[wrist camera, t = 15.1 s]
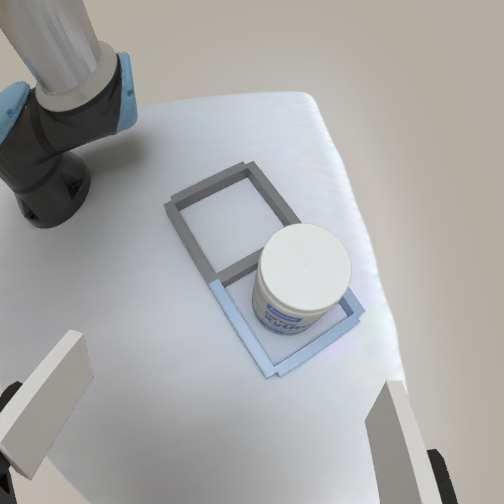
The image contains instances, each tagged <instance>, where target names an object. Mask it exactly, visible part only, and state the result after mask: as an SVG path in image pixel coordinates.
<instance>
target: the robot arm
mask: <svg viewBox="0 0 504 504" xmlns="http://www.w3.org/2000/svg"><path fill="white" fill-rule="evenodd" d="M0 28H1V30H2V31H3V33H4V34H5V36H6V37H7V39H8V40H9V42H10V43H11V44H12V46H13V47H14V49H15V50H16V52H17V53H18V54H19V56H20V57H21V59H22V60H23V62H24V63H25V64H26V66H27V67H28V69H29V70H30V71H31V73H32V74H33V76H34V77H35V78H36V80H37V84H36V87H35V88H33V89H30V86H29V84H27V83H26V82H23V81H21V82H16V83H14V84H12V85H10V86H9V87H7V88H6V89H4V90H3V91H2V92H1V93H0V178H1V179H2V180H3V181H4V182H5V183H6V184H7V185H8V186H9V187H10V188H11V189H12V190H13V192H14V193H15V196H16V199H17V201H18V204H19V206H20V209H21V211H22V214H23V215H24V217H25V218H26V219H27V220H28V221H29V222H30V223H31V224H33V225H34V226H36V227H39V228H50V227H53V226H56V225H58V224H60V223H62V222H64V221H65V220H67V219H68V218H69V217H71V216H72V215H73V214H74V213H75V212H76V211H77V209H78V208H79V207H80V206H81V204H82V203H83V201H84V199H85V197H86V195H87V193H88V190H89V186H90V174H89V171H88V169H87V167H86V166H85V164H84V163H83V161H82V160H81V159H80V158H79V157H78V156H76V155H75V154H73V153H72V152H70V151H69V150H71V149H74V148H76V147H79V146H81V145H84V144H87V143H89V142H92V141H95V140H98V139H101V138H104V137H107V136H110V135H115V134H117V133H118V132H120V131H122V130H125V129H128V128H130V127H132V126H133V125H134V124H135V123H136V121H137V106H136V99H135V93H134V86H133V77H132V71H131V64H130V58H129V55H128V54H127V53H125V52H124V53H115V51H114V50H113V48H112V47H111V46H110V45H108V44H107V43H104V42H102V41H97V38H96V35H95V33H94V31H93V28H92V25H91V22H90V20H89V17H88V14H87V11H86V9H85V6H84V3H83V1H82V0H0ZM93 378H94V376H93V373H92V369H91V365H90V360H89V356H88V352H87V347H86V343H85V338H84V333H80V332H77V331H74V330H71V329H70V330H69V331H68V332H67V333H66V334H65V335H64V337H63V338H62V339H61V340H60V341H59V342H58V343H57V344H56V346H55V347H54V348H53V349H52V350H51V351H50V352H49V354H48V355H47V356H46V357H45V358H44V359H43V361H42V362H41V363H40V364H39V365H38V367H37V368H36V369H35V370H34V371H33V373H32V374H31V375H30V376H29V377H28V379H27V380H26V381H25V382H24V384H22V383H20V382H18V381H17V382H15V383H13V384H12V385H10V386H8V387H7V388H6V390H5V391H4V392H3V393H2V395H1V397H0V504H17V502H16V498H15V493H14V489H13V485H12V479H11V474H10V472H9V467H10V465H11V466H12V467H13V468H14V469H15V471H16V472H18V473H19V474H21V475H22V476H24V477H26V478H28V479H29V480H32V478H33V476H34V475H35V473H36V471H37V469H38V468H39V466H40V464H41V462H42V460H43V459H44V457H45V455H46V454H47V452H48V450H49V449H50V447H51V445H52V443H53V442H54V440H55V438H56V437H57V435H58V433H59V432H60V430H61V429H62V427H63V425H64V424H65V422H66V420H67V419H68V417H69V416H70V414H71V412H72V411H73V409H74V408H75V406H76V404H77V403H78V401H79V400H80V398H81V396H82V395H83V393H84V392H85V390H86V389H87V387H88V386H89V384H90V383H91V381H92V379H93ZM365 424H366V429H367V434H368V439H369V444H370V448H371V454H372V459H373V464H374V469H375V475H376V480H377V486H378V492H379V498H380V504H458V503H457V499H456V495H455V492H454V489H453V486H452V482H451V479H449V477H450V476H449V473H448V471H447V467H446V465H445V461H444V458H443V457H442V456H441V454H440V453H439V452H438V451H437V450H436V449H432V450H426V448H425V445H424V442H423V439H422V436H421V433H420V430H419V427H418V424H417V421H416V419H415V416H414V413H413V410H412V407H411V405H410V402H409V399H408V397H407V394H406V391H405V389H404V386H403V384H402V381H386V382H385V384H384V386H383V388H382V390H381V392H380V394H379V396H378V397H377V399H376V401H375V403H374V405H373V407H372V409H371V410H370V412H369V414H368V416H367V418H366V419H365Z"/></svg>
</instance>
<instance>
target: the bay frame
mask: <svg viewBox="0 0 504 504" xmlns="http://www.w3.org/2000/svg"><path fill="white" fill-rule="evenodd" d="M246 177H248V178H249V179H250V181H251V182H252V183H253V185H254V186H255V187H256V189H257V190H258V191H259V193H260V194H261V195H262V197H263V198H264V199H265V201H266V202H267V203H268V205H269V206H270V207H271V209H272V210H273V211H274V213H275V214H276V215H277V217H278V218H279V219H280V221H281V222H282V223H283V225H284V226H285V227H286V226H289V225H293V224H299V223H301V221H300V220H299V219H298V217H297V216H296V215H295V213H294V212H293V211H292V209H291V208H290V207H289V205H288V204H287V203H286V202H285V200H284V199H283V198H282V196H281V195H280V194H279V193H278V191H277V190H276V189H275V188H274V186H273V185H272V184H271V182H270V181H269V180H268V179H267V177H266V176H265V175H264V174H263V172H262V171H261V170H260V169H259V167H258V166H257V165H256V164H255V162H254V161H252V162H250V163H248V164H246V165H245V163H244V162H241V163H239V164H236V165H234V166H232V167H230V168H228V169H226V170H224V171H221V172H219V173H217V174H215V175H213V176H211V177H209V178H207V179H205V180H203V181H201V182H199V183H197V184H195V185H192V186H190V187H188V188H186V189H184V190H182V191H181V192H179V193H177V194H175V195H173V196H171V200H172V201H170V202H168V203H166V204H164V207H165V209H166V212H167V214H168V216H169V218H170V220H171V221H172V223H173V225H174V227H175V229H176V230H177V232H178V234H179V236H180V237H181V239H182V241H183V243H184V245H185V246H186V248H187V250H188V252H189V253H190V255H191V257H192V259H193V260H194V262H195V264H196V266H197V267H198V269H199V271H200V272H201V274H202V276H203V278H204V279H205V281H206V283H207V284H208V286H209V288H210V289H211V291H212V293H213V294H214V296H215V298H216V299H217V301H218V303H219V304H220V306H221V308H222V309H223V311H224V313H225V314H226V316H227V318H228V319H229V321H230V322H231V324H232V326H233V327H234V329H235V331H236V332H237V334H238V335H239V337H240V339H241V340H242V342H243V343H244V345H245V347H246V348H247V350H248V351H249V353H250V354H251V356H252V358H253V359H254V361H255V362H256V364H257V365H258V367H259V369H260V370H261V372H262V373H263V375H264V376H265V378H268V377H270V376H271V375H273V374H275V373H276V374H277V376H278V377H281V376H282V375H284V374H285V373H287V372H289V371H290V370H292V369H293V368H295V367H296V366H298V365H299V364H301V363H302V362H304V361H305V360H307V359H308V358H310V357H311V356H313V355H314V354H316V353H317V352H319V351H320V350H322V349H323V348H325V347H326V346H327V345H329V344H330V343H332V342H333V341H334V340H336V339H337V338H339V337H340V336H341V335H343V334H344V333H346V332H347V331H348V330H350V329H351V328H352V327H354V326H355V325H356V324H358V323H359V322H360V320H359V319H358V316H360V315H361V314H362V313H364V312H365V310H364V308H363V307H362V305H361V304H360V302H359V301H358V300H357V298H356V297H355V295H354V294H353V292H352V291H351V290H350V288H349V287H348V288H347V290H346V292H345V293H344V295H343V296H342V298H341V299H340V300H339V303H340V305H341V306H342V307H343V309H344V310H345V312H346V313H347V315H348V316H349V317H347V318H346V319H345V320H343V321H342V322H340V323H339V324H338V325H336V326H335V327H333V328H332V329H330V330H329V331H328V332H326V333H325V334H323V335H322V336H320V337H319V338H317V339H316V340H314V341H313V342H311V343H310V344H308V345H307V346H305V347H304V348H302V349H301V350H299V351H298V352H296V353H295V354H293V355H292V356H290V357H289V358H287V359H285V360H284V361H282V362H281V363H279V364H278V365H276V366H273V364H272V363H271V361H270V360H269V358H268V357H267V355H266V354H265V352H264V350H263V349H262V347H261V346H260V344H259V343H258V341H257V340H256V338H255V336H254V335H253V333H252V332H251V330H250V329H249V327H248V325H247V324H246V322H245V321H244V319H243V317H242V316H241V314H240V313H239V311H238V309H237V308H236V306H235V305H234V303H233V301H232V300H231V298H230V297H229V295H228V293H227V292H226V290H225V288H224V287H226V286H228V285H229V284H231V283H233V282H235V281H236V280H238V279H240V278H242V277H243V276H245V275H247V274H249V273H250V272H252V271H254V270H256V269H257V267H258V262H259V258H260V255H261V253H262V251H263V249H264V247H263V248H261V249H259V250H258V251H256V252H254V253H252V254H250V255H249V256H247V257H245V258H243V259H242V260H240V261H238V262H236V263H234V264H233V265H231V266H229V267H227V268H226V269H224V270H222V271H220V272H218V273H217V274H215V272H214V270H213V269H212V267H211V265H210V264H209V262H208V260H207V259H206V257H205V255H204V254H203V252H202V250H201V249H200V247H199V245H198V244H197V242H196V240H195V238H194V237H193V235H192V233H191V232H190V230H189V228H188V227H187V225H186V223H185V221H184V220H183V218H182V216H181V214H180V213H179V211H180V210H182V209H184V208H186V207H188V206H190V205H192V204H194V203H195V202H197V201H199V200H201V199H203V198H205V197H207V196H209V195H211V194H213V193H215V192H217V191H219V190H221V189H223V188H225V187H227V186H230V185H232V184H234V183H236V182H238V181H240V180H242V179H244V178H246Z"/></svg>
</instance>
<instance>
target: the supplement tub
mask: <svg viewBox="0 0 504 504" xmlns="http://www.w3.org/2000/svg"><path fill="white" fill-rule="evenodd" d="M351 274H352V266H351V260H350V257H349V254H348V251H347V250H346V248H345V246H344V245H343V243H342V242H341V241H340V240H339V239H338V238H337V237H336V236H335V235H334V234H333V233H332V232H330V231H328V230H327V229H325V228H323V227H320V226H317V225H313V224H307V223H299V224H293V225H289V226H286V227H284V228H282V229H280V230H278V231H277V232H276V233H274V234H273V235H272V236H271V237H270V239H269V240H268V241H267V243H266V244H265V246H264V249H263V251H262V253H261V255H260V258H259V262H258V267H257V273H256V279H255V285H254V291H253V298H252V304H253V309H254V313H255V315H256V317H257V319H258V320H259V321H260V323H261V324H262V325H263V326H264V327H265V328H267V329H268V330H270V331H272V332H274V333H277V334H281V335H293V334H297V333H300V332H302V331H304V330H306V329H308V328H309V327H310V326H311V325H313V324H314V323H315V322H316V321H317V320H318V319H320V318H321V317H322V316H323V315H324V314H325V313H327V312H328V311H329V310H330V309H331V308H332V307H333V306H334V305H336V304H337V303H338V302H339V300H340V299H341V298H342V296H343V295H344V293H345V292H346V290H347V288H348V286H349V283H350V280H351Z"/></svg>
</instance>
